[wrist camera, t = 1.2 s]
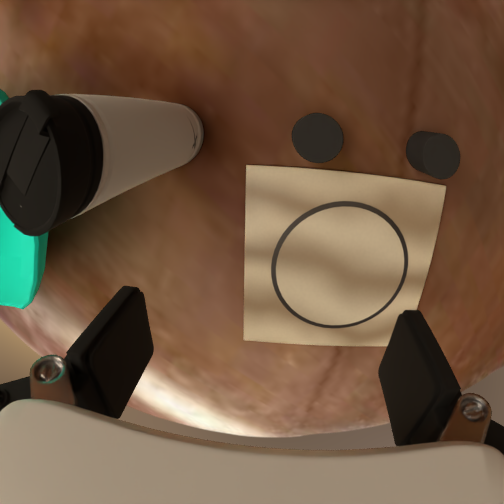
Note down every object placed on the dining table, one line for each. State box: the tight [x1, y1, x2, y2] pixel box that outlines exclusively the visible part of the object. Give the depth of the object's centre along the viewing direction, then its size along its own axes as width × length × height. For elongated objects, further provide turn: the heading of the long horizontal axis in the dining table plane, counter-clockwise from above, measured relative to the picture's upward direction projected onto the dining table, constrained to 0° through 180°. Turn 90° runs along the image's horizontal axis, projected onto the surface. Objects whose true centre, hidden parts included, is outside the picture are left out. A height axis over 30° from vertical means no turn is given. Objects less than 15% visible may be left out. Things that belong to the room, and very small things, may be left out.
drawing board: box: [244, 165, 446, 346], centre depth 30 cm, size 20×20×1 cm
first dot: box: [292, 113, 343, 163], centre depth 24 cm, size 4×4×4 cm
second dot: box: [406, 131, 460, 179], centre depth 23 cm, size 4×4×4 cm
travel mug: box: [0, 90, 204, 236], centre depth 18 cm, size 6×7×20 cm
